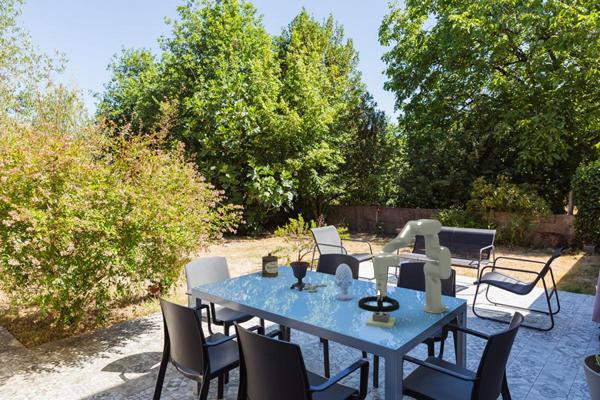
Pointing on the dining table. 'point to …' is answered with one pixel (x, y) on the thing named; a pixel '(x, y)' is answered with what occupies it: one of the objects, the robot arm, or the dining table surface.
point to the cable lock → (375, 308)
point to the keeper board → (381, 324)
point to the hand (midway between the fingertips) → (381, 304)
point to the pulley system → (309, 286)
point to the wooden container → (270, 266)
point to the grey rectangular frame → (381, 317)
